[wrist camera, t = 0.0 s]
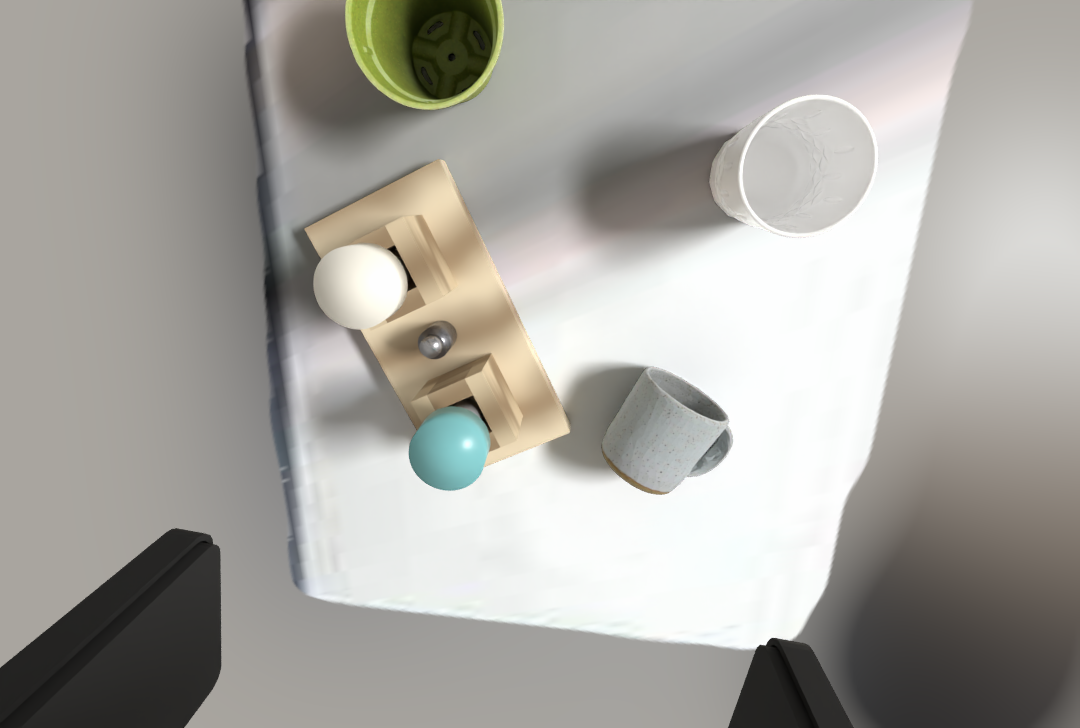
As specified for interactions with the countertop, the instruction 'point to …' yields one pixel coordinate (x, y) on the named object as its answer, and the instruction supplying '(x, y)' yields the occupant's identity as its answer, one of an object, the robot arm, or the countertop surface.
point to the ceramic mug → (665, 433)
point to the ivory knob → (360, 285)
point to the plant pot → (425, 47)
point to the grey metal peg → (437, 339)
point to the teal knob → (451, 446)
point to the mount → (449, 312)
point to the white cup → (797, 167)
